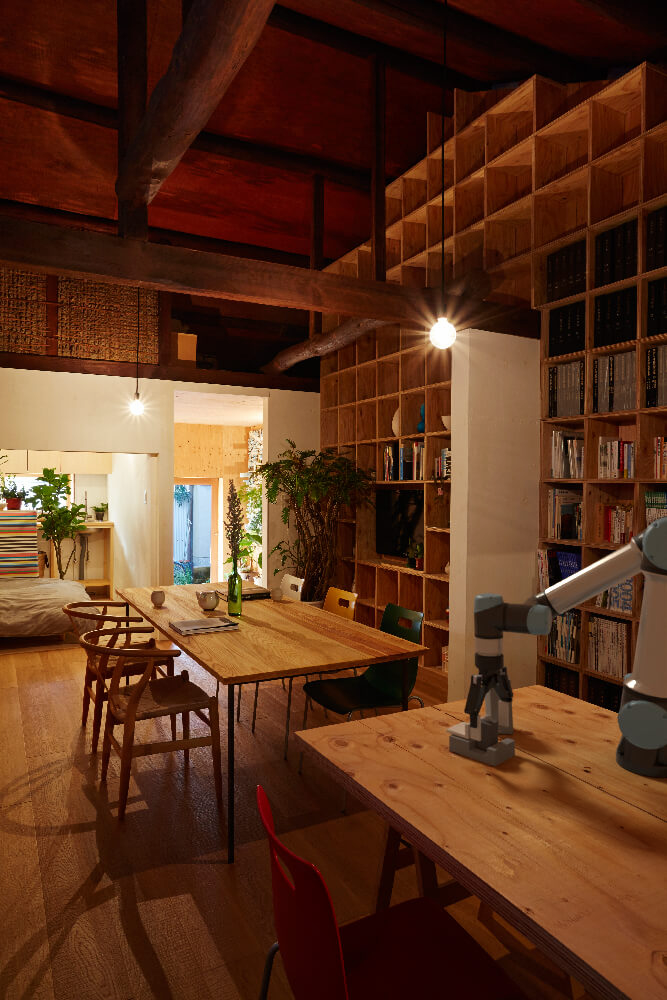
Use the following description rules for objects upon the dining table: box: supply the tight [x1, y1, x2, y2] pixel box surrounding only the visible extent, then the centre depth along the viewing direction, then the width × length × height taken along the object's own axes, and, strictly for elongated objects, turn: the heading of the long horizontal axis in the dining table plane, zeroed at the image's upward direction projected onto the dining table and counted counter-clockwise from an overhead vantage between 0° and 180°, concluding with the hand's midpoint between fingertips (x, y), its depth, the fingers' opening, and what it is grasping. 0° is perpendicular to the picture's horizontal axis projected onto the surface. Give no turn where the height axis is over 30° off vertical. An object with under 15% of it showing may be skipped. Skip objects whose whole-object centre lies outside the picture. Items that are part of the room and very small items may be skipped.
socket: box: [448, 734, 516, 767], centre depth 173 cm, size 14×10×4 cm
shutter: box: [445, 716, 484, 739], centre depth 176 cm, size 7×8×4 cm
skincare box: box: [484, 678, 514, 735], centre depth 190 cm, size 8×7×16 cm
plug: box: [477, 714, 499, 752], centre depth 171 cm, size 4×4×10 cm
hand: (490, 732), depth 171 cm, fingers open, 13 cm apart
